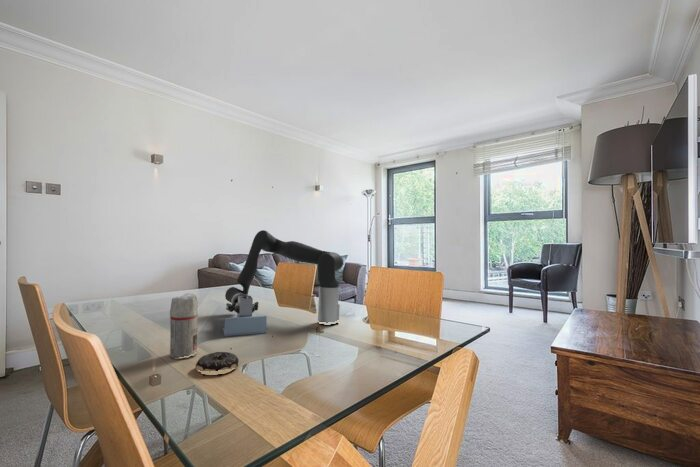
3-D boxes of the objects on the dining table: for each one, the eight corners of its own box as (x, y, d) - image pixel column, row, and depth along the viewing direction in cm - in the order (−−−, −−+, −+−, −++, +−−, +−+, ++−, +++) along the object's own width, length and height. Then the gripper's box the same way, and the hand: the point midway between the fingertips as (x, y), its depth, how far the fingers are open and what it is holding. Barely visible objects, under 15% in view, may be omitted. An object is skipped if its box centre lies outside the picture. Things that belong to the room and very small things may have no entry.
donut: (209, 361, 105) (209, 348, 105) (245, 364, 103) (245, 351, 103) (188, 375, 94) (189, 361, 94) (228, 379, 92) (229, 364, 92)
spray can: (185, 361, 103) (188, 297, 103) (162, 358, 105) (165, 295, 105) (202, 352, 111) (205, 293, 112) (181, 350, 113) (184, 291, 113)
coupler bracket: (261, 326, 146) (262, 311, 146) (265, 332, 137) (266, 316, 137) (222, 329, 139) (223, 313, 139) (224, 336, 130) (225, 318, 130)
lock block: (248, 323, 143) (250, 292, 143) (251, 327, 137) (252, 295, 137) (236, 324, 141) (238, 292, 141) (238, 328, 135) (240, 295, 135)
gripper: (224, 294, 149) (227, 302, 134) (256, 293, 155) (263, 300, 140) (223, 311, 149) (226, 320, 133) (256, 309, 155) (263, 318, 140)
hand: (245, 310), depth 137 cm, fingers closed on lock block, 5 cm apart
